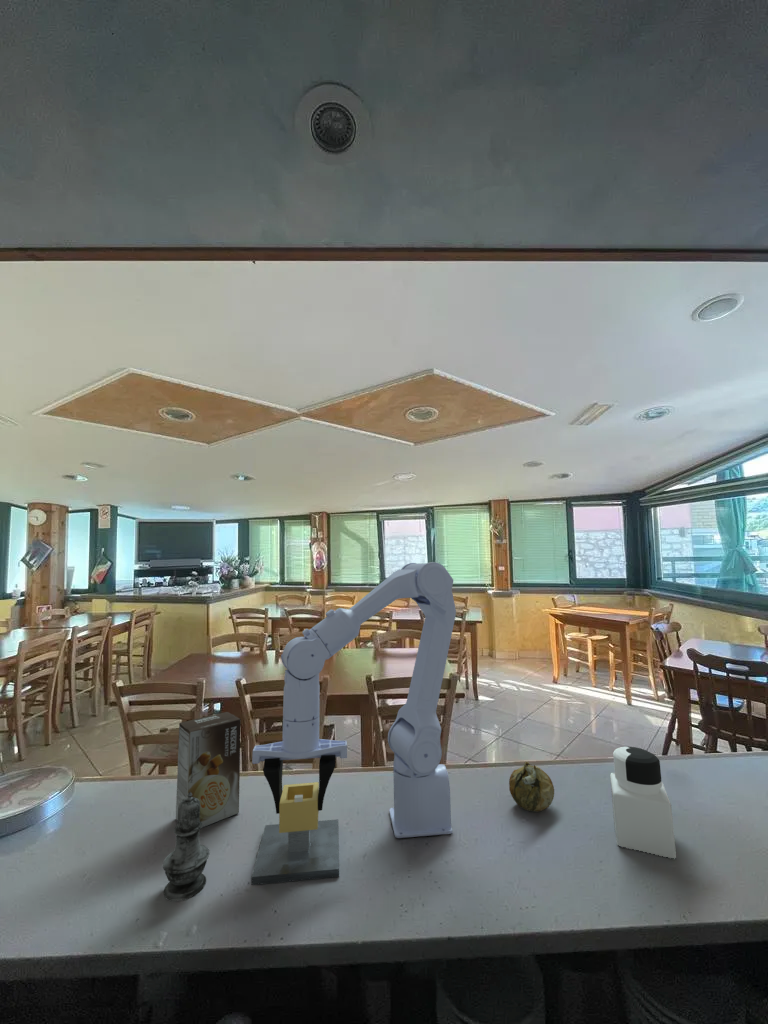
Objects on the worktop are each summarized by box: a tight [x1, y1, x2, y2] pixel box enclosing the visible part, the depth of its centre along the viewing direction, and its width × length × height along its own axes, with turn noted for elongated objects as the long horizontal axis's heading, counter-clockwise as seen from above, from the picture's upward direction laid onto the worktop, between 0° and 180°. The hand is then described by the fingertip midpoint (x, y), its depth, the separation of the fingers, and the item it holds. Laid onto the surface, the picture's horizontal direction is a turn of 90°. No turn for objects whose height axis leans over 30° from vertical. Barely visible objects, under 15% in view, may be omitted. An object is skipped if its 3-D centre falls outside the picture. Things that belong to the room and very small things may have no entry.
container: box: [609, 746, 677, 860], centre depth 68 cm, size 8×8×13 cm
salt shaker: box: [162, 792, 211, 902], centre depth 59 cm, size 6×6×12 cm
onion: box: [508, 761, 555, 813], centre depth 77 cm, size 8×8×8 cm
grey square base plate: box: [250, 819, 340, 886], centre depth 65 cm, size 12×12×4 cm
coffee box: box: [175, 711, 242, 828], centre depth 75 cm, size 9×6×16 cm
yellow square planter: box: [278, 781, 320, 833], centre depth 66 cm, size 6×6×5 cm
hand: (299, 808), depth 65 cm, fingers closed on yellow square planter, 6 cm apart
